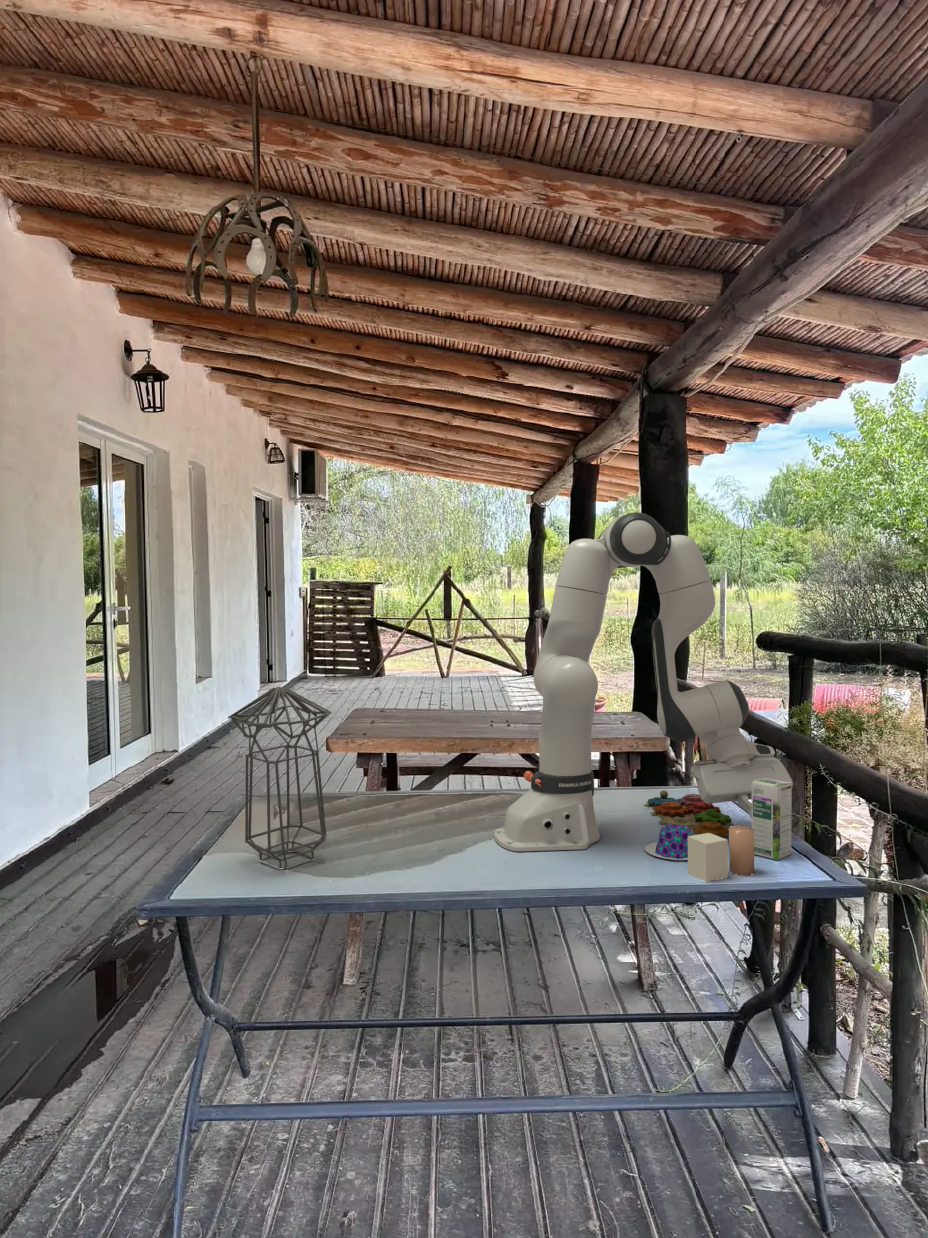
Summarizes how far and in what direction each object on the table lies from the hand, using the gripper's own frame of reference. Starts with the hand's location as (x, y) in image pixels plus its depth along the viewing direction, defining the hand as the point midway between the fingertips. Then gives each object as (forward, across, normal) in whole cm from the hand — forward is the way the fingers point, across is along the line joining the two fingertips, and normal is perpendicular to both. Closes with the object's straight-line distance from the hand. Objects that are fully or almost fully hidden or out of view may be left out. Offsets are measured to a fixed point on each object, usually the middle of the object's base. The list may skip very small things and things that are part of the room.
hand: (759, 816), depth 167 cm
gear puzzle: (-11, -2, +21) cm, 24 cm away
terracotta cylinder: (+12, -12, -3) cm, 17 cm away
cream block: (+12, -18, -3) cm, 23 cm away
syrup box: (+8, 0, +2) cm, 8 cm away
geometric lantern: (-10, -93, +19) cm, 96 cm away
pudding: (+3, -17, +7) cm, 19 cm away
